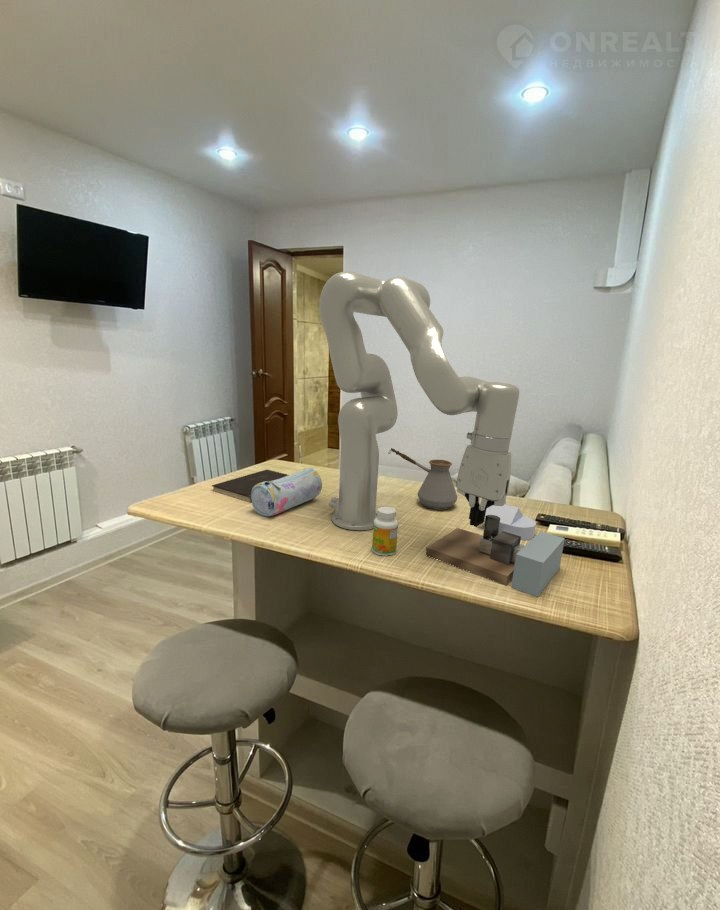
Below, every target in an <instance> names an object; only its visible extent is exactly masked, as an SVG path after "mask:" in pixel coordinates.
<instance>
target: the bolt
mask: <svg viewBox="0 0 720 910" xmlns="http://www.w3.org/2000/svg"><path fill="white" fill-rule="evenodd" d="M499 525H500V517H498V516H495V515H486V517H485V519H484V527H483V532H482V533H483V534H482V536H483V537H481V540H480V548H479V551H481V552H484V553H487V554H491V547H492V539H493V538H494V537H496V536H497V535H498V534H499V533H498V532H499ZM524 546H525V544H524V545H523V544H521V543H520V544H518V543H517V544H516V545H515V546H514V547H513V549H512V556H511V562H514V563H515V558H516V554H517V553H518V552H519V551H520V550H521V549H522V548H523V547H524Z"/></svg>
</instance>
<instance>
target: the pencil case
mask: <svg viewBox="0 0 720 910" xmlns="http://www.w3.org/2000/svg"><path fill="white" fill-rule="evenodd" d="M287 475H288V476H286V477H283V478H280V479H276V480H273V481H269V482H267V481H265V482H262V483H259V484H256V485H255V486H254V487H253V488H252V492H251V499H252V503H251V505H252V507H253V509H254V511H255V512H256V513H257V514H258V515H261V516H262V517H271V516H276V515H279V514H281V513H283V512H286V511H287V510H290V509H292V508H294V507H297V506H299V505H301V504H304V503H307V502H308V501H312V500H313V499H314V498H316V497H318V496H319V494H320V493H321V491H322V487H323V481H322V478H321V475H320V474H319V473H318V471H317V470H316V469H314V468H312V467H306V468H304V469H302V470H299V471H296V472H294V473H291V474H287Z"/></svg>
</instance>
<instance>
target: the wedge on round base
mask: <svg viewBox="0 0 720 910" xmlns="http://www.w3.org/2000/svg"><path fill="white" fill-rule="evenodd" d="M486 515H495V516H498V517H500V525H499V532H498V534H499V533H501V532H502V531H504V532H507V533H511V534H514V535H518V536H521V540H520V541H531V540H532V539H533V537H535V533H536V531H535V530H536V526H537V525H536V524H537V522H536V521H535V520H534V519H533V518H531V517H528V516H526V515H523V513H522V512H521V510H520V507H517V506H515V505H514V506H513V505H511V504H510V505H509V504H507V503H506V504H505V505H504V506H494V505H492V506H490V507H488V508H487V509H486V514H485V517H486Z"/></svg>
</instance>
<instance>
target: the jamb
mask: <svg viewBox="0 0 720 910" xmlns="http://www.w3.org/2000/svg"><path fill="white" fill-rule="evenodd" d="M565 539H566V538H565V537H562V536H559V535H555V534H551V533H547V532H544V531H539V532H538V533H537V534H536V535H534V538H532V539H530V540H529V541H528V543H526V544H524V547H523V548H522V549H521V550H520V551H519V552H518V553H517V554H516V558H515V565H514V572H513V579H512V580H511V585H510V586H511V588H512V589H515V590H517V591H520V592H523V593H525V594H528V595H531V596H533V597H537V598H538V597H540V595H541V593H542V592H543V591H544V589H546V588H547V586H548V584H549V583H550V582H551V580H552V579H553V578H554V576H556V573H558V571H559V570H560V569H561V568H560V567H561V562H562V557H563V550H564V545H565Z"/></svg>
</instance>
